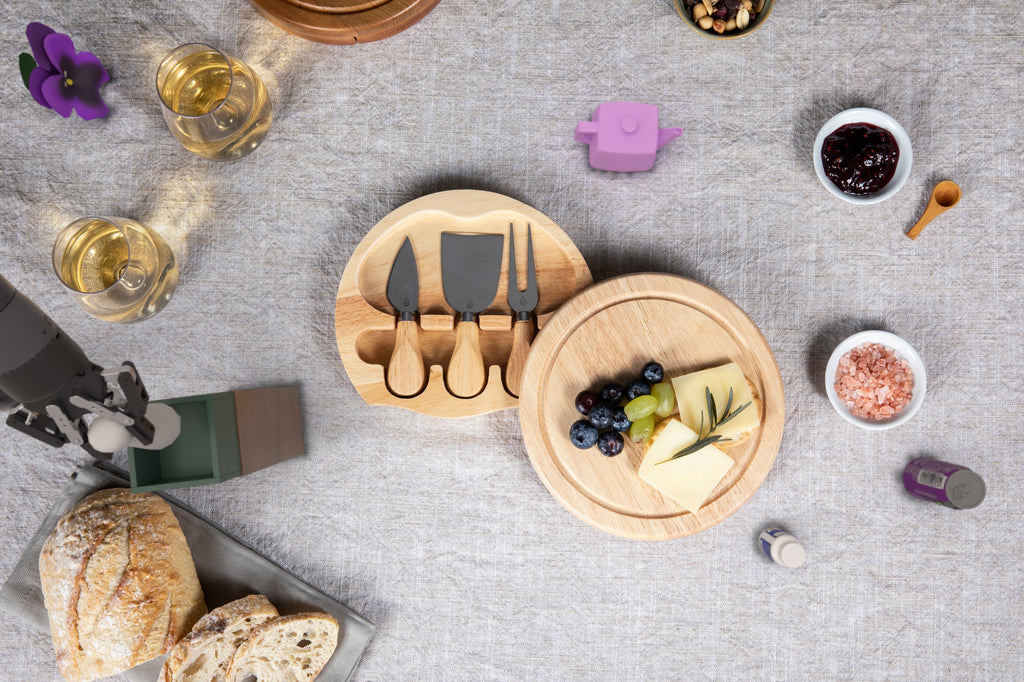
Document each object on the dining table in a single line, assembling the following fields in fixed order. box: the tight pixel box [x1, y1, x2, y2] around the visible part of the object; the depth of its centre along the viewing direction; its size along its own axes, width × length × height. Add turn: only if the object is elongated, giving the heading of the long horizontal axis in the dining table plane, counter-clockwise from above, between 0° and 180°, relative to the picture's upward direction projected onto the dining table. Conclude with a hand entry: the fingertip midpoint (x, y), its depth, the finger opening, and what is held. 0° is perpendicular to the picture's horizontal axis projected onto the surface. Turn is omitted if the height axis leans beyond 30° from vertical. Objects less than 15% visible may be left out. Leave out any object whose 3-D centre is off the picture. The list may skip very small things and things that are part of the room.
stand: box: [151, 385, 306, 478], centre depth 105 cm, size 12×12×26 cm
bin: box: [126, 392, 242, 495], centre depth 89 cm, size 12×12×7 cm
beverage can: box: [902, 457, 987, 511], centre depth 110 cm, size 7×7×12 cm
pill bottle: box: [758, 526, 807, 569], centre depth 112 cm, size 5×5×9 cm
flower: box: [18, 21, 111, 122], centre depth 117 cm, size 15×15×14 cm
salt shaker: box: [87, 403, 181, 453], centre depth 78 cm, size 6×6×13 cm
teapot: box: [573, 101, 684, 173], centre depth 115 cm, size 18×10×10 cm, turn 87°
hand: (130, 446), depth 76 cm, fingers closed on salt shaker, 4 cm apart
